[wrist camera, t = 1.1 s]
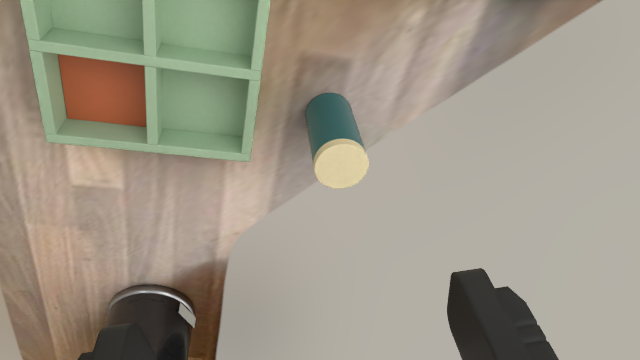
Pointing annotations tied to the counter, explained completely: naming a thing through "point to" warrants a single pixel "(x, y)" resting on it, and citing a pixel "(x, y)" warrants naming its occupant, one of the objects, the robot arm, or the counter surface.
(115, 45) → the grid
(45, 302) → the counter surface
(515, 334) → the robot arm
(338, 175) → the teal cream-capped cylinder
